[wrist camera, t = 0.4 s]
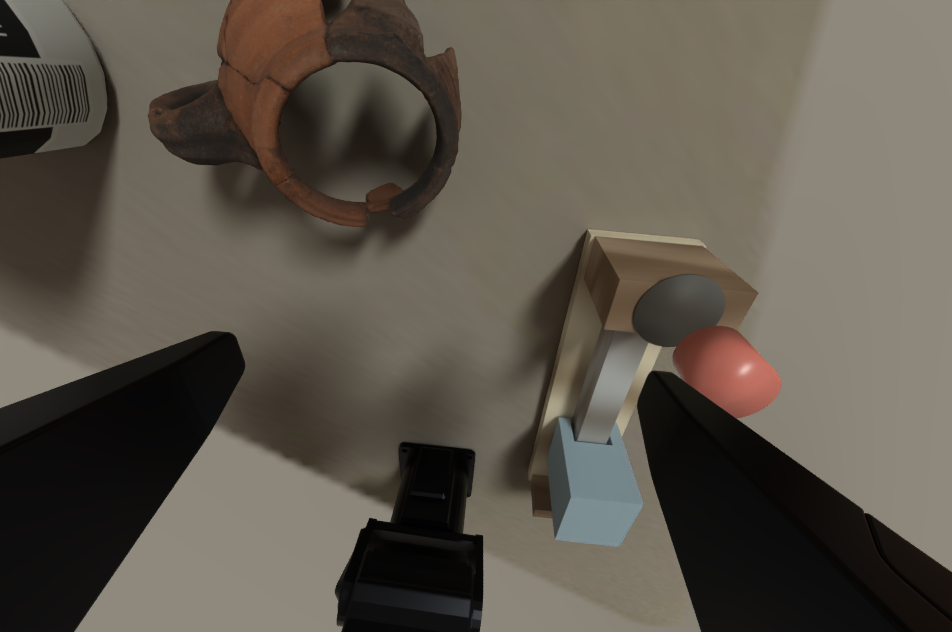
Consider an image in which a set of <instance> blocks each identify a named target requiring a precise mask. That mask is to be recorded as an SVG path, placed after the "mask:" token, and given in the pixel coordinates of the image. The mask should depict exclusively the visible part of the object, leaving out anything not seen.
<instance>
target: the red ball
mask: <svg viewBox="0 0 952 632" xmlns="http://www.w3.org/2000/svg"><path fill="white" fill-rule="evenodd" d="M673 364H674V367H675V368H676V370H677V372H678V373H679V375H680V377H681V378H682V380H683V381H685V382H686V383H687V384H689V385H690V386H692V387H693V388H694V389H696V390H697V391H699V392H700V393H701V394H703V395H704V396H705V397H707V398H708V399H710V400H711V401H712V402H714V403H715V404H717V405H718V406H719V407H721V408H722V409H724V410H725V411H726V412H728V413H729V414H731V415H732V416H733V417H735V418H741V417H745V416H748V415H751V414H754V413H756V412H758V411H760V410H762V409H763V408H765V407H766V406H768V405H769V404H770V403H771V402H772V401H773V400H774V399H775V398H776V396H777V395H778V393H779V391H780V388H781V379H780V377H779V375H778V374H777V373H776V371H775V370H774V369H773V368H772V367H771V366H770V365H769V364H768V363H767V362H766V361H765V359H764V358H763V357H762V356H761V355H760V354H759V353H758V352H757V351H756V350H755V349H754V348H753V346H752V345H751V344H750V343H749V342H748V341H747V340H746V339H745V338H744V337H743V336H742V335H741V334H740V333H739V332H738V331H737V330H735V329H733V328H730V327H726V326H710V327H706V328H702V329H699V330H697V331H695V332H693V333H691V334H689V335H688V336H686V337H685V338H684V339H683V340H682V341H681V342H680V343H679V344H678V345H677V347H676V348H675V350H674V353H673Z"/></svg>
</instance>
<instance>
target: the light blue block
mask: <svg viewBox="0 0 952 632" xmlns="http://www.w3.org/2000/svg"><path fill="white" fill-rule="evenodd" d="M547 469H548V479H549V488H550V498H551V507H552V517H553V527H554V536H555V540H562V541H571V542H580V543H589V544H598V545H607V546H616V547H619V546H620V544H621V542H622V541H623V539H624V537H625V536H626V534H627V532H628V531H629V529H630V527H631V525H632V524H633V522H634V520H635V519H636V517H637V515H638V514H639V512H640V510H641V509H642V507H643V502H642V498H641V495H640V492H639V489H638V486H637V483H636V480H635V477H634V474H633V471H632V467H631V464H630V461H629V458H628V455H627V452H626V449H625V446H624V443H623V440H622V437H621V433H620V430H619V427H618V424H617V423H615V424H614V427H613V429H612V431H611V434H610V436H609V439H608V441H607V443H606V445H604V444H594V443H585V442H575V441H574V438H573V432H572V427H571V421H570V418H562V417H559V418H558V422H557V425H556V429H555V432H554V436H553V439H552V443H551V446H550V450H549V453H548V457H547Z"/></svg>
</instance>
